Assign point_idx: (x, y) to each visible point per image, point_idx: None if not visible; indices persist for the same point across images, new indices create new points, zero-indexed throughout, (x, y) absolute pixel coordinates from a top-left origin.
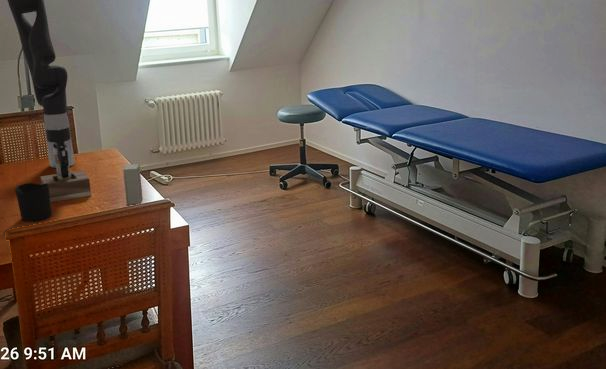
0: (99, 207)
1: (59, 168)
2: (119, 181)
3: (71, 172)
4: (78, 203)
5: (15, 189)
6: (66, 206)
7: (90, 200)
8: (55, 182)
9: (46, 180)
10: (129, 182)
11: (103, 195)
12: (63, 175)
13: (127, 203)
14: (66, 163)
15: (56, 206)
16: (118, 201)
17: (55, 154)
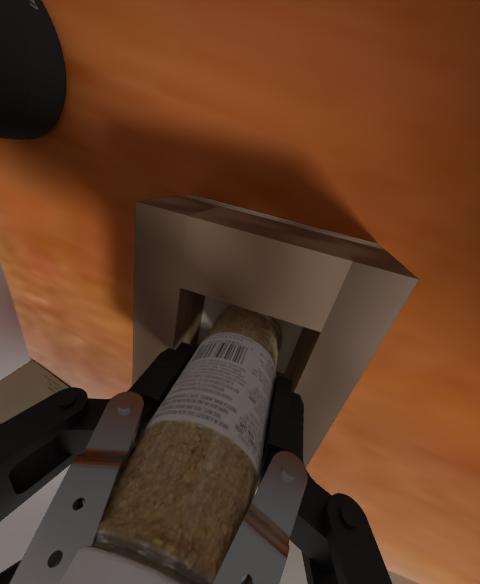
0: (40, 305)
1: (175, 389)
2: None
3: (310, 435)
4: (110, 283)
5: None
6: (97, 234)
7: (121, 325)
8: (161, 280)
9: (253, 262)
10: None
11: None
12: (161, 354)
13: (27, 363)
14: (50, 440)
15: (117, 203)
16: (71, 365)
17: (84, 560)
